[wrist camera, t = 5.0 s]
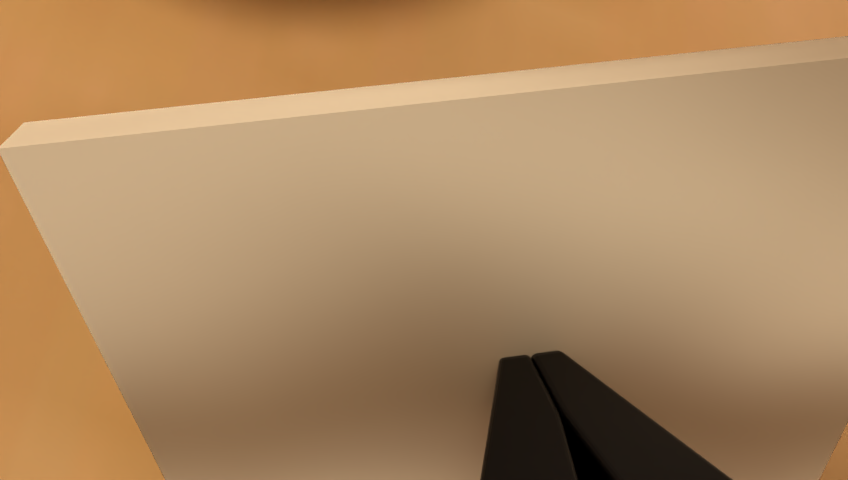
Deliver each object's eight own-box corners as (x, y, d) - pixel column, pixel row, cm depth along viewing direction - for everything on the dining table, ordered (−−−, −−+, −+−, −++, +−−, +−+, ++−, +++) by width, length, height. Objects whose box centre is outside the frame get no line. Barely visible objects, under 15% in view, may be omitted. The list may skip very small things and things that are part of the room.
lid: (762, 529, 13) (779, 559, 12) (250, 606, 12) (246, 639, 12) (989, 21, 7) (1039, 37, 6) (23, 122, 6) (-3, 149, 6)
